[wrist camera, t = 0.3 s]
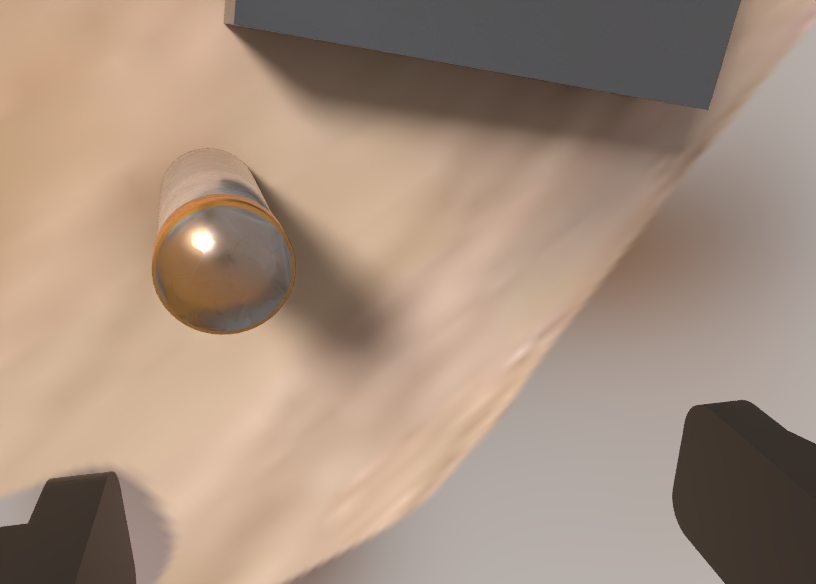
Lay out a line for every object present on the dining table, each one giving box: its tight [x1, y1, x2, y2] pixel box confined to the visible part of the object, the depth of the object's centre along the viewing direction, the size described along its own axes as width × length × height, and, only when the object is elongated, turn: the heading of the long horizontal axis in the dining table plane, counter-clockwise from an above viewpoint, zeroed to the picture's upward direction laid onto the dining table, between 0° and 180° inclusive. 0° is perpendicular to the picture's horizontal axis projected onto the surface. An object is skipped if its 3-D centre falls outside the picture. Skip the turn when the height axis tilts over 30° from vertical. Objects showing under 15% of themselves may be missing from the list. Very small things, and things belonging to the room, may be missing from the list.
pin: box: [152, 148, 296, 334], centre depth 25 cm, size 4×4×10 cm
